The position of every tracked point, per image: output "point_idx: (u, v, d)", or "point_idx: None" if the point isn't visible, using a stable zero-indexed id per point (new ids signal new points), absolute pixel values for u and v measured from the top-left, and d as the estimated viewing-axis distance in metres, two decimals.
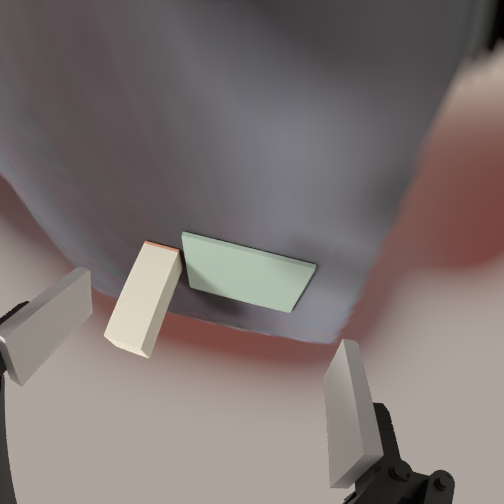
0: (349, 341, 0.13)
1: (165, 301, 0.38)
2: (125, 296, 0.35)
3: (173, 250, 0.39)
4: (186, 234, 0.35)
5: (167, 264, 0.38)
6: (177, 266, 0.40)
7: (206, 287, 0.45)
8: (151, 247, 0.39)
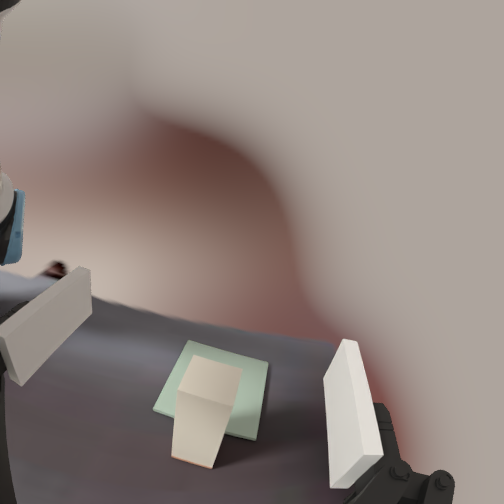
0: (349, 341, 0.13)
1: None
2: None
3: None
4: (154, 406, 0.35)
5: None
6: None
7: (248, 420, 0.36)
8: None
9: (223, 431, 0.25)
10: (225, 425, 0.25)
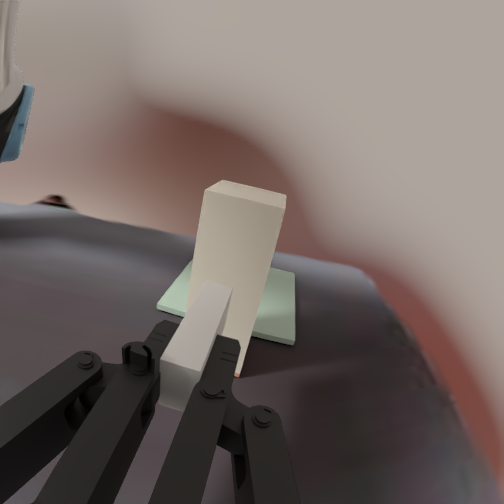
0: (224, 286, 0.16)
1: None
2: None
3: None
4: (158, 303, 0.29)
5: None
6: None
7: (281, 322, 0.31)
8: None
9: (266, 274, 0.20)
10: (270, 258, 0.19)
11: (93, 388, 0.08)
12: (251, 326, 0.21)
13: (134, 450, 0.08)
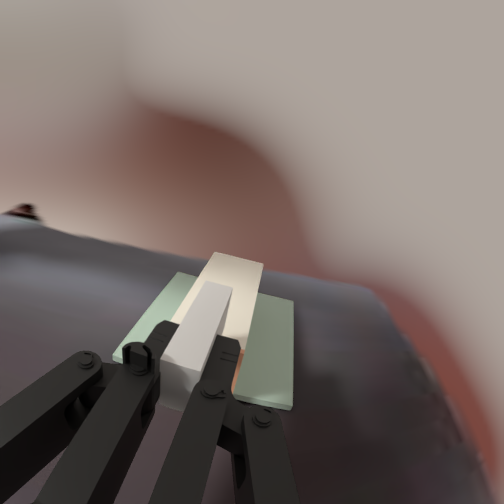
0: (224, 286, 0.16)
1: None
2: None
3: None
4: (115, 353, 0.21)
5: None
6: None
7: (275, 377, 0.22)
8: None
9: (258, 283, 0.26)
10: (259, 277, 0.27)
11: (93, 388, 0.08)
12: (252, 308, 0.22)
13: (134, 450, 0.08)
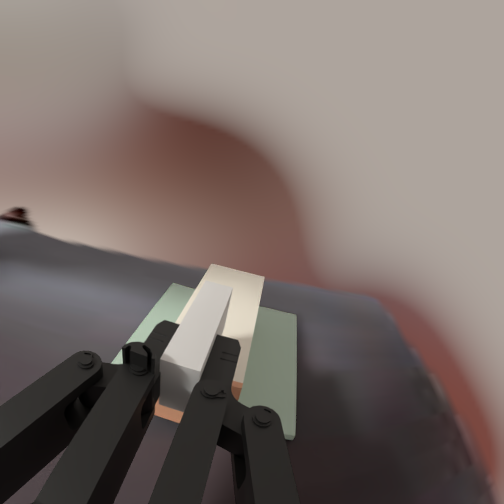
0: (224, 286, 0.16)
1: None
2: None
3: None
4: None
5: None
6: None
7: (277, 403, 0.20)
8: None
9: (258, 300, 0.24)
10: (259, 293, 0.25)
11: (93, 388, 0.08)
12: (251, 331, 0.20)
13: (134, 450, 0.08)
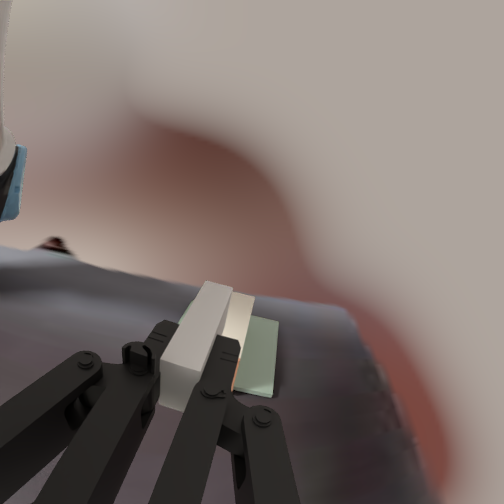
0: (224, 286, 0.16)
1: None
2: None
3: None
4: None
5: None
6: None
7: (262, 376, 0.34)
8: None
9: (250, 312, 0.38)
10: (251, 308, 0.39)
11: (93, 388, 0.08)
12: (245, 331, 0.34)
13: (134, 450, 0.08)
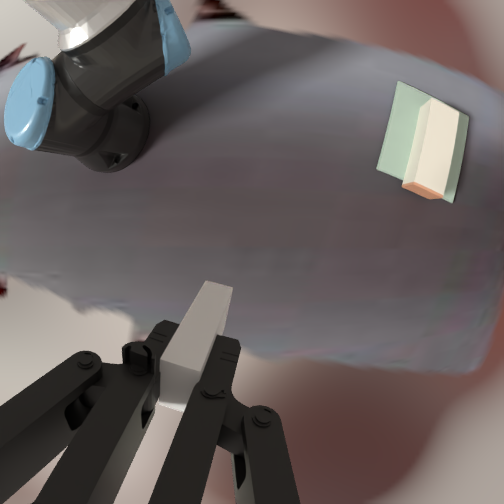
0: (224, 286, 0.16)
1: None
2: (424, 131, 0.35)
3: (403, 184, 0.40)
4: (377, 166, 0.41)
5: (407, 171, 0.39)
6: None
7: (449, 183, 0.39)
8: (411, 180, 0.37)
9: (455, 137, 0.33)
10: (456, 130, 0.33)
11: (93, 388, 0.08)
12: (450, 163, 0.34)
13: (134, 450, 0.08)
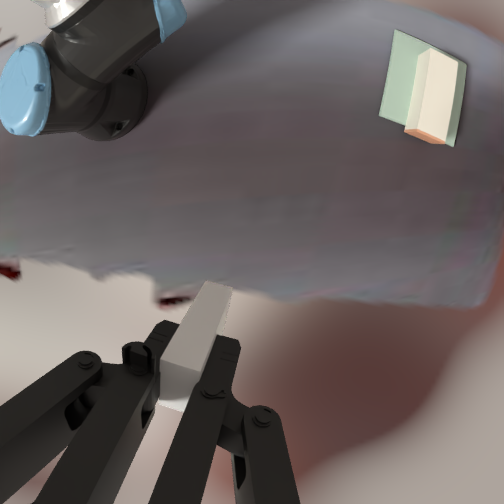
0: (224, 286, 0.16)
1: None
2: (424, 80, 0.32)
3: (406, 130, 0.39)
4: (379, 112, 0.39)
5: (409, 117, 0.38)
6: None
7: (450, 128, 0.38)
8: (414, 126, 0.36)
9: (454, 86, 0.31)
10: (455, 79, 0.31)
11: (93, 388, 0.08)
12: (450, 110, 0.33)
13: (134, 450, 0.08)
